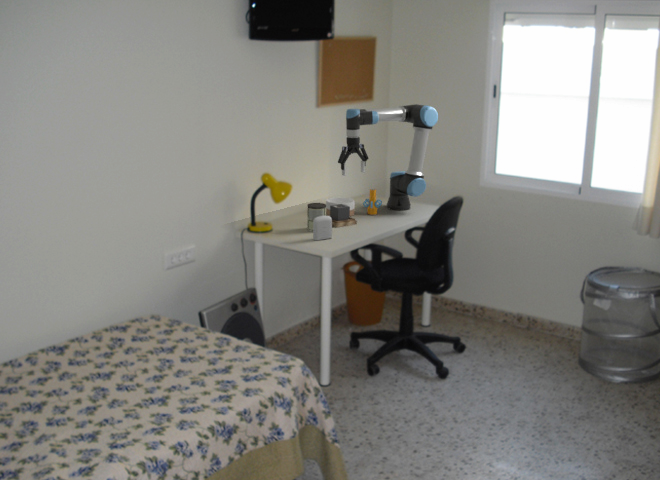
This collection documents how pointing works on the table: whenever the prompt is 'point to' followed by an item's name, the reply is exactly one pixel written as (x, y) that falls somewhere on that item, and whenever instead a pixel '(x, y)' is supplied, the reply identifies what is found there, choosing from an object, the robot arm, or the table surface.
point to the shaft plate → (344, 222)
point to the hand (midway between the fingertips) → (353, 173)
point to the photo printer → (322, 228)
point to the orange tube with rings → (372, 203)
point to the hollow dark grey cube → (339, 212)
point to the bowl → (340, 200)
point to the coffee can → (315, 213)
